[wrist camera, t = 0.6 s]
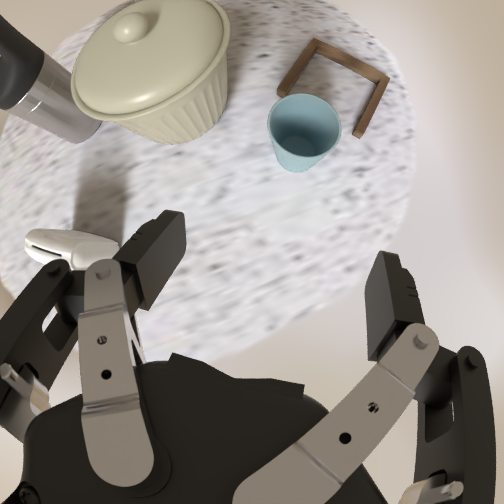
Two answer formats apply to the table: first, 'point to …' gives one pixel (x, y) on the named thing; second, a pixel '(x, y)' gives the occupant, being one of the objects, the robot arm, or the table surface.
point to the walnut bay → (348, 62)
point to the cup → (303, 130)
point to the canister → (157, 69)
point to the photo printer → (69, 247)
